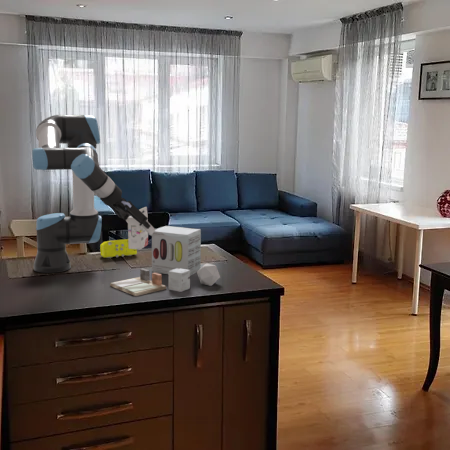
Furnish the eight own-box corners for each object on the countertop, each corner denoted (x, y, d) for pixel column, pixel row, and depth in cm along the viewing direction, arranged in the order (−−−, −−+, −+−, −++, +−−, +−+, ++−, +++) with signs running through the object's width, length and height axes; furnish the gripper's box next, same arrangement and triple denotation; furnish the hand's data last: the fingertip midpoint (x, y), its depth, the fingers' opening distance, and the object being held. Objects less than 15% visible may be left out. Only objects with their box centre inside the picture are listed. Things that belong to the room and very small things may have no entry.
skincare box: (181, 292, 219) (181, 273, 218) (168, 289, 222) (168, 270, 221) (190, 288, 224) (190, 269, 223) (177, 285, 227) (177, 267, 226)
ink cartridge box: (135, 244, 221) (135, 205, 219) (148, 244, 220) (148, 206, 218) (127, 248, 213) (127, 209, 210) (140, 249, 212) (140, 209, 209)
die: (224, 285, 231) (218, 263, 235) (217, 279, 223) (212, 257, 227) (204, 291, 232) (199, 269, 236) (197, 286, 225) (192, 263, 228)
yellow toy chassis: (104, 259, 268) (103, 241, 266) (100, 256, 272) (99, 239, 271) (137, 256, 275) (137, 238, 274) (133, 253, 280) (132, 236, 279)
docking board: (110, 285, 226) (110, 272, 225) (140, 279, 235) (140, 267, 234) (135, 296, 213) (135, 282, 212) (166, 289, 223) (166, 275, 222)
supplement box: (150, 272, 245) (150, 230, 242) (165, 265, 258) (165, 225, 254) (188, 277, 239) (188, 234, 236) (201, 270, 251) (201, 228, 248)
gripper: (85, 195, 211) (124, 234, 224) (117, 202, 195) (156, 243, 209) (98, 180, 213) (135, 219, 227) (130, 185, 198) (168, 226, 211)
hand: (145, 230), depth 218 cm, fingers closed on ink cartridge box, 8 cm apart
